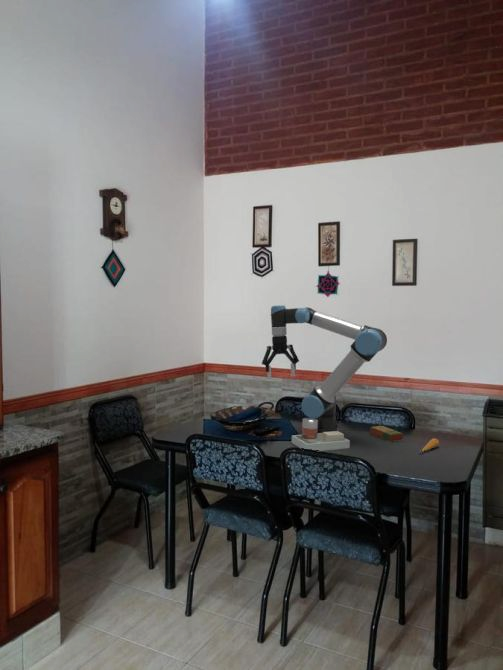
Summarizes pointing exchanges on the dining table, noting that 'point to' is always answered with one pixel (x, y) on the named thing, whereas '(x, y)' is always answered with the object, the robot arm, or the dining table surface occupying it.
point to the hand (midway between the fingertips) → (281, 377)
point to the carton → (386, 433)
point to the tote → (320, 443)
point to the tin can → (309, 430)
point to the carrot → (431, 444)
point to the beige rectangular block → (332, 436)
